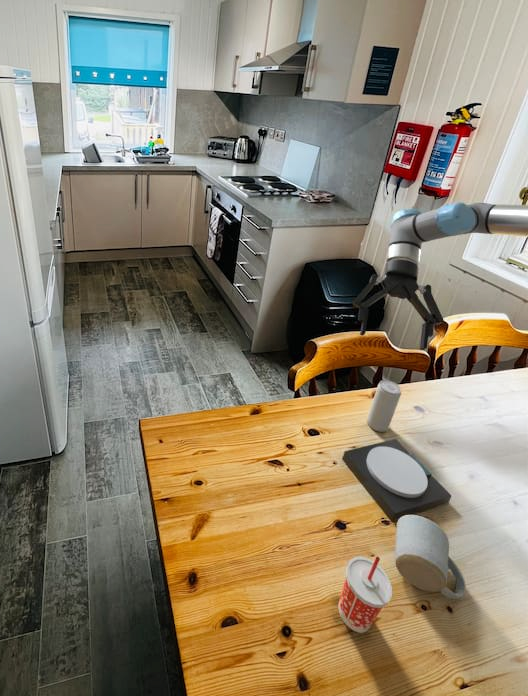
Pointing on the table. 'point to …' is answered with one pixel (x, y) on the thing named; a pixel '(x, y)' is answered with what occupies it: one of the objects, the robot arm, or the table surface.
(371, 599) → the beverage cup
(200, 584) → the table surface
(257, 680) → the table surface
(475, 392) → the table surface
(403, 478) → the kitchen scale
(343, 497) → the table surface
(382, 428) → the beverage can
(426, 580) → the ceramic mug
